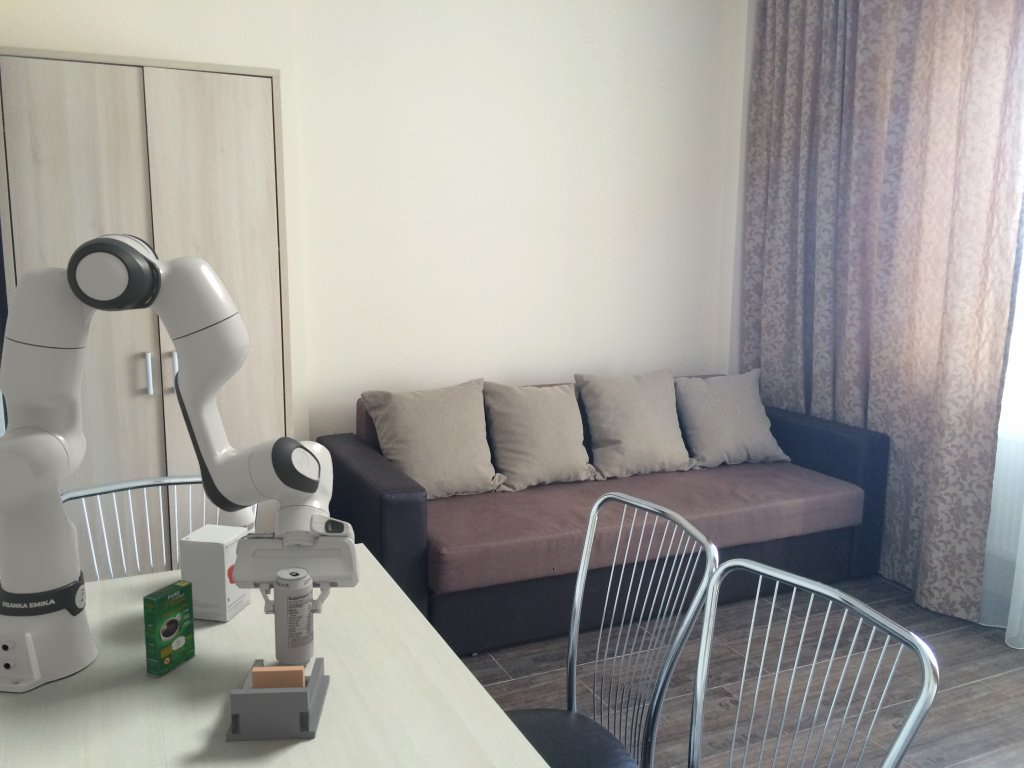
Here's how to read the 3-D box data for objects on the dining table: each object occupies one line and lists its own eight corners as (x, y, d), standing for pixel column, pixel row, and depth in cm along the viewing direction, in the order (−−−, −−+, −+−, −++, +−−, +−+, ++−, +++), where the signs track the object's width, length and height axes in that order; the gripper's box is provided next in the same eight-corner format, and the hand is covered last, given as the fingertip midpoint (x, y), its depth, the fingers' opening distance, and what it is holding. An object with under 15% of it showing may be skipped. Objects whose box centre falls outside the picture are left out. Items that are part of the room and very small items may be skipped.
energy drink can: (302, 648, 140) (300, 562, 137) (321, 661, 136) (319, 573, 133) (268, 659, 136) (266, 571, 133) (287, 673, 132) (284, 583, 129)
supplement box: (227, 623, 150) (223, 544, 147) (182, 618, 152) (177, 539, 149) (252, 602, 159) (249, 526, 156) (209, 597, 160) (205, 522, 158)
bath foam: (215, 574, 171) (210, 480, 168) (247, 565, 176) (243, 473, 172) (230, 585, 166) (225, 488, 163) (262, 575, 171) (258, 481, 167)
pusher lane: (226, 740, 115) (223, 694, 114) (251, 683, 130) (249, 641, 129) (314, 737, 116) (313, 691, 115) (329, 681, 131) (328, 639, 130)
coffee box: (184, 651, 140) (179, 577, 137) (197, 655, 139) (193, 580, 136) (145, 674, 132) (140, 596, 130) (159, 678, 131) (154, 600, 129)
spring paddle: (253, 707, 121) (251, 671, 120) (255, 703, 122) (253, 667, 121) (304, 706, 122) (302, 670, 121) (305, 701, 123) (304, 665, 122)
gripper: (234, 525, 138) (221, 606, 130) (360, 524, 140) (354, 604, 132) (242, 541, 143) (230, 620, 135) (363, 540, 145) (358, 618, 137)
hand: (292, 612), depth 134 cm, fingers closed on energy drink can, 6 cm apart
